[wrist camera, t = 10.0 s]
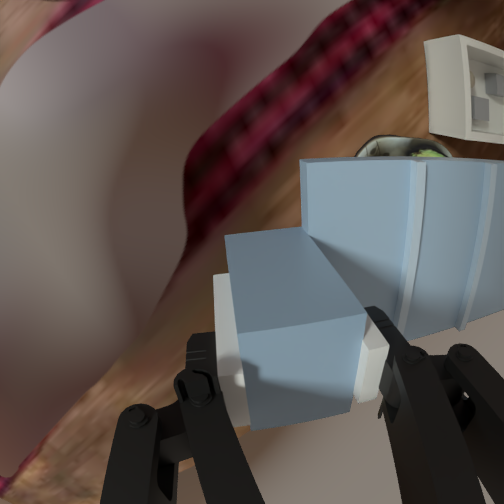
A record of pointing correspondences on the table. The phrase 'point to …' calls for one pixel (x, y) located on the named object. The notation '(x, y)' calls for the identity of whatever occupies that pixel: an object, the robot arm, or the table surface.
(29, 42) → the table surface
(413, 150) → the salad plate
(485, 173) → the light blue l-shaped piece
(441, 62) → the tub
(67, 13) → the table surface
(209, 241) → the table surface
